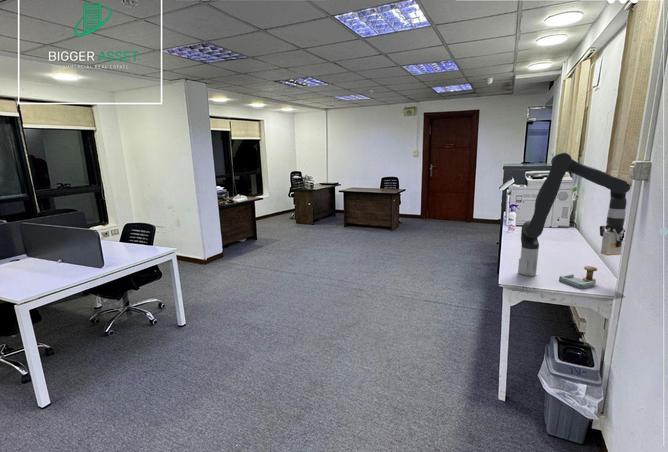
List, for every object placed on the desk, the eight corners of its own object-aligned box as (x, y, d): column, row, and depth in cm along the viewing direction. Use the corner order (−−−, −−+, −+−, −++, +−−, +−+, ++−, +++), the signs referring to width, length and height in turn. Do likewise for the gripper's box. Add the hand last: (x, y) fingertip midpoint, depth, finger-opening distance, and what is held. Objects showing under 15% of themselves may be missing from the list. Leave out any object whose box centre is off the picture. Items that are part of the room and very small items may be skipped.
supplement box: (613, 252, 191) (616, 230, 188) (621, 255, 186) (624, 232, 183) (599, 253, 190) (603, 231, 187) (607, 255, 185) (610, 233, 183)
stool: (590, 283, 190) (592, 270, 188) (579, 279, 195) (581, 266, 194) (597, 281, 192) (599, 268, 190) (587, 278, 197) (589, 265, 195)
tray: (581, 288, 183) (581, 284, 182) (559, 280, 195) (559, 276, 195) (594, 286, 186) (594, 281, 185) (571, 278, 198) (572, 273, 197)
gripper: (597, 215, 189) (593, 243, 192) (626, 219, 175) (621, 250, 179) (606, 213, 191) (602, 242, 195) (635, 218, 178) (630, 248, 181)
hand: (611, 245), depth 187 cm, fingers closed on supplement box, 5 cm apart
